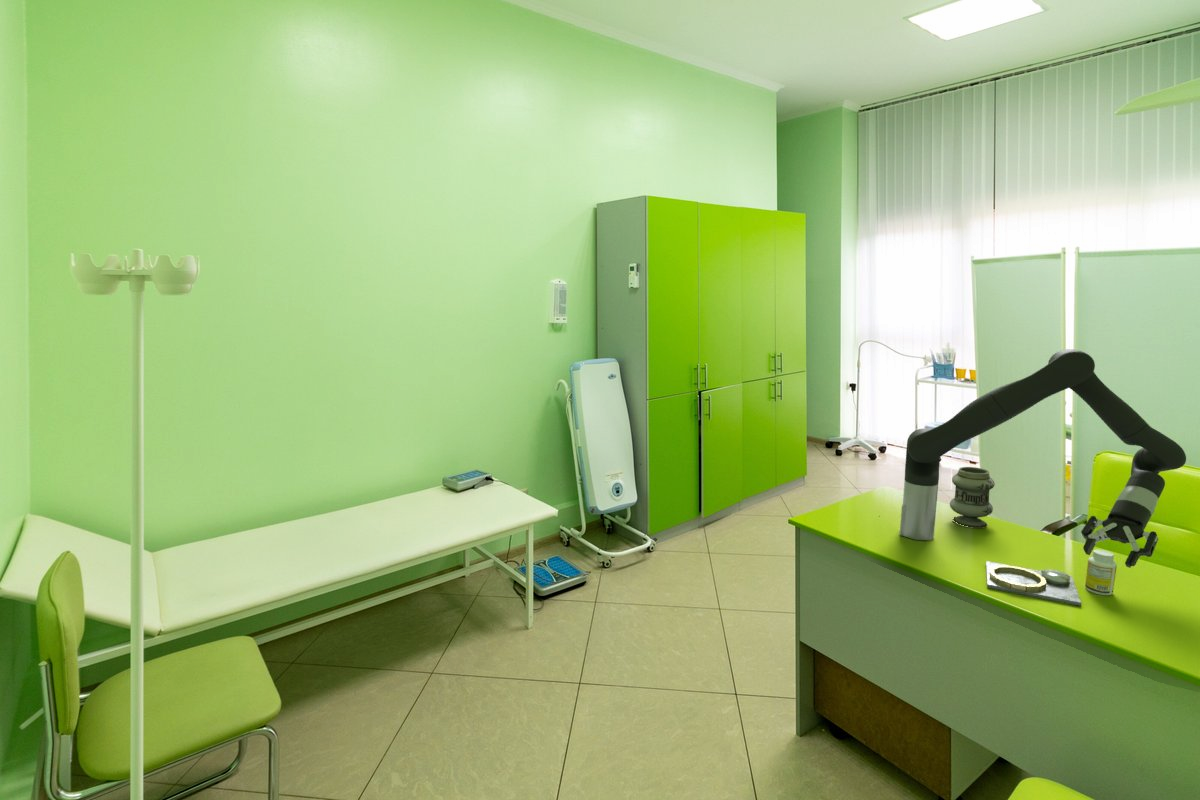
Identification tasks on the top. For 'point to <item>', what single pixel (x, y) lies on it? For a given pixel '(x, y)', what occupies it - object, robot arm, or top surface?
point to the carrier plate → (1032, 582)
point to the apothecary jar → (972, 496)
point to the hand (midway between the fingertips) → (1106, 559)
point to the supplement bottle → (1101, 573)
